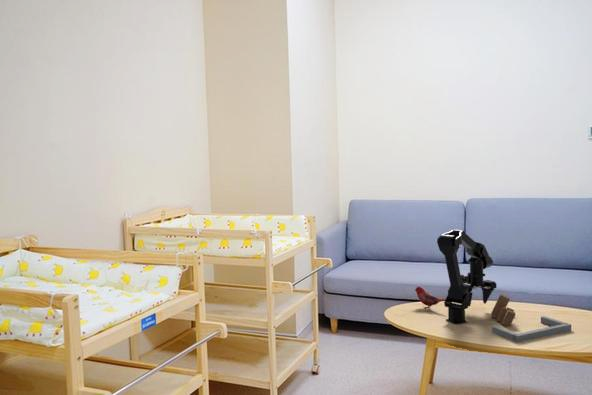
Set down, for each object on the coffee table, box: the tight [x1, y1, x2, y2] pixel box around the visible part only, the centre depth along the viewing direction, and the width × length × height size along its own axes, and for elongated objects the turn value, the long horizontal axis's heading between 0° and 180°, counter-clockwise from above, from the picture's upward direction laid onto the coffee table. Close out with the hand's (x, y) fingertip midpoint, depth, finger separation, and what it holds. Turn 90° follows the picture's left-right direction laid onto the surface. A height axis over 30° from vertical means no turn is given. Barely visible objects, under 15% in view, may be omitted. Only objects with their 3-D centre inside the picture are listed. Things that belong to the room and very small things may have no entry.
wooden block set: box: [490, 293, 516, 327], centre depth 223 cm, size 18×9×10 cm, turn 162°
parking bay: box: [491, 315, 572, 344], centre depth 207 cm, size 29×13×2 cm, turn 113°
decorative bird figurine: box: [414, 286, 446, 310], centre depth 242 cm, size 3×18×10 cm, turn 43°
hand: (476, 304), depth 235 cm, fingers open, 9 cm apart
